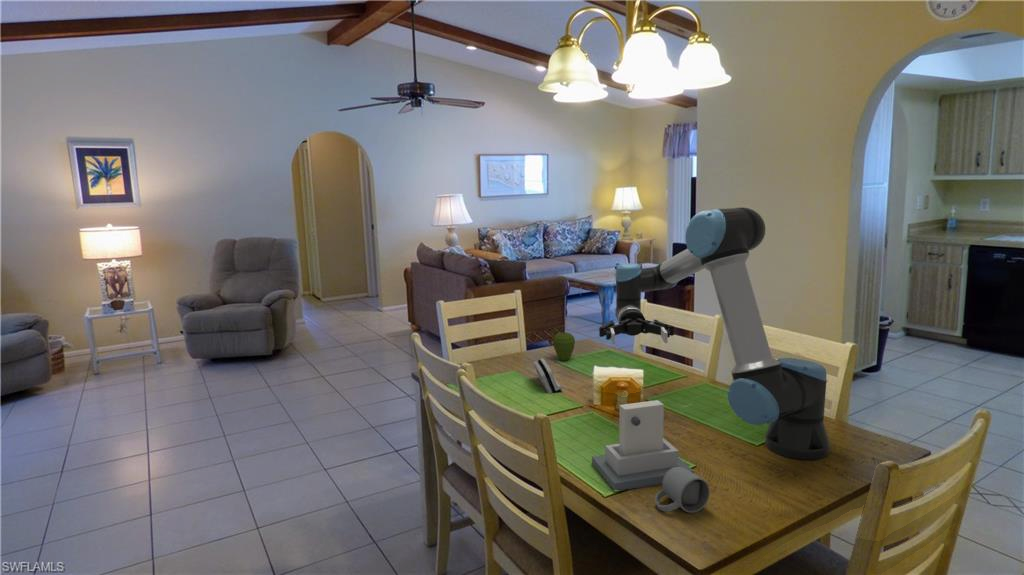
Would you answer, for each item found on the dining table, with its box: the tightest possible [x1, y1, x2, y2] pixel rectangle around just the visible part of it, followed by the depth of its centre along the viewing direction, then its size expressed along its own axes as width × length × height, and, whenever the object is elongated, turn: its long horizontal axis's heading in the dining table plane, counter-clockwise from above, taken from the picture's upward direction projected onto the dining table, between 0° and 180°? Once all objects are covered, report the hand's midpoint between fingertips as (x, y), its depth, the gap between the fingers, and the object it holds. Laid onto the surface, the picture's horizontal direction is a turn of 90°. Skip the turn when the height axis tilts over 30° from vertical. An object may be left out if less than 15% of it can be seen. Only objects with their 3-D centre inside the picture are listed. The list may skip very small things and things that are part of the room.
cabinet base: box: [591, 437, 695, 491], centre depth 146 cm, size 20×14×6 cm
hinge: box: [532, 358, 564, 394], centre depth 208 cm, size 17×5×10 cm, turn 9°
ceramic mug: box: [654, 467, 711, 514], centre depth 130 cm, size 11×8×8 cm
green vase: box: [552, 331, 576, 362], centre depth 235 cm, size 9×8×12 cm
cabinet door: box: [619, 399, 665, 457], centre depth 144 cm, size 10×4×15 cm, turn 104°
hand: (639, 338), depth 158 cm, fingers open, 13 cm apart
